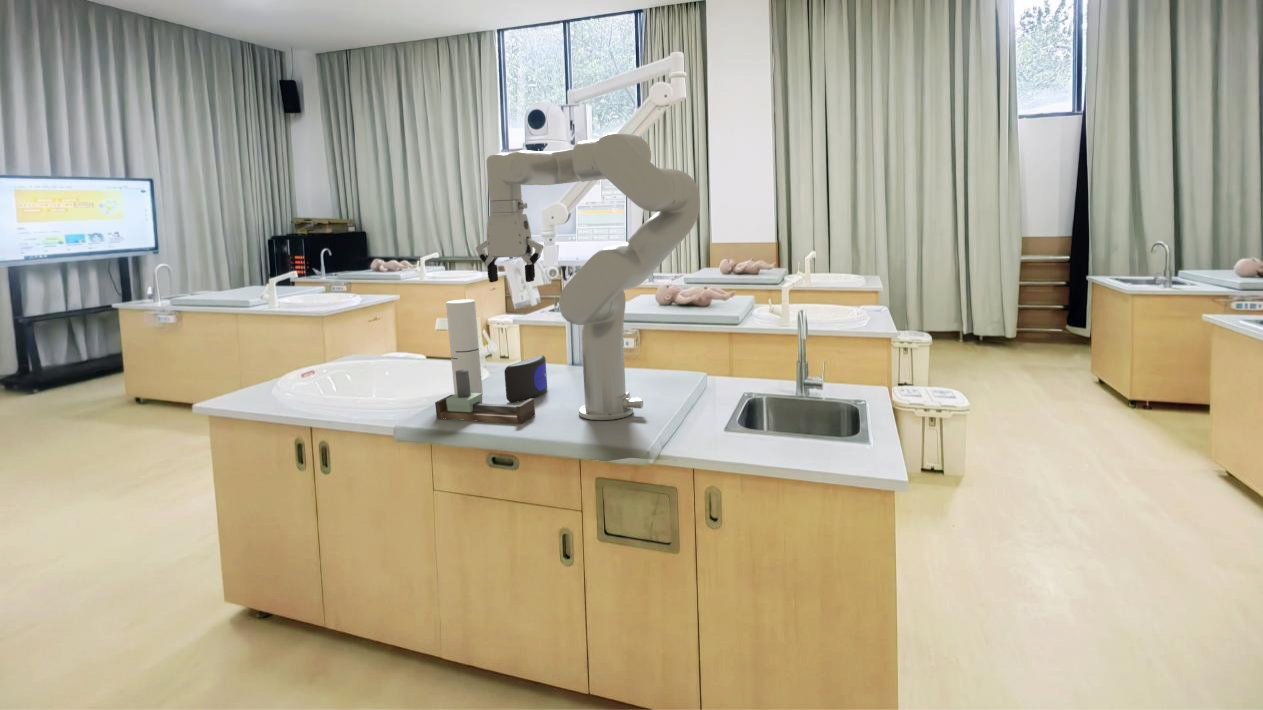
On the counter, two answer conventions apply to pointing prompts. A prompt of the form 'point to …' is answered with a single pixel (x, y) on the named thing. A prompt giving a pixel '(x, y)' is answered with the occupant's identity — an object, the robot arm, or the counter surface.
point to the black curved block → (526, 379)
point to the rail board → (489, 412)
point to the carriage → (463, 394)
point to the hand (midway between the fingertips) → (511, 281)
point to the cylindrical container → (464, 341)
